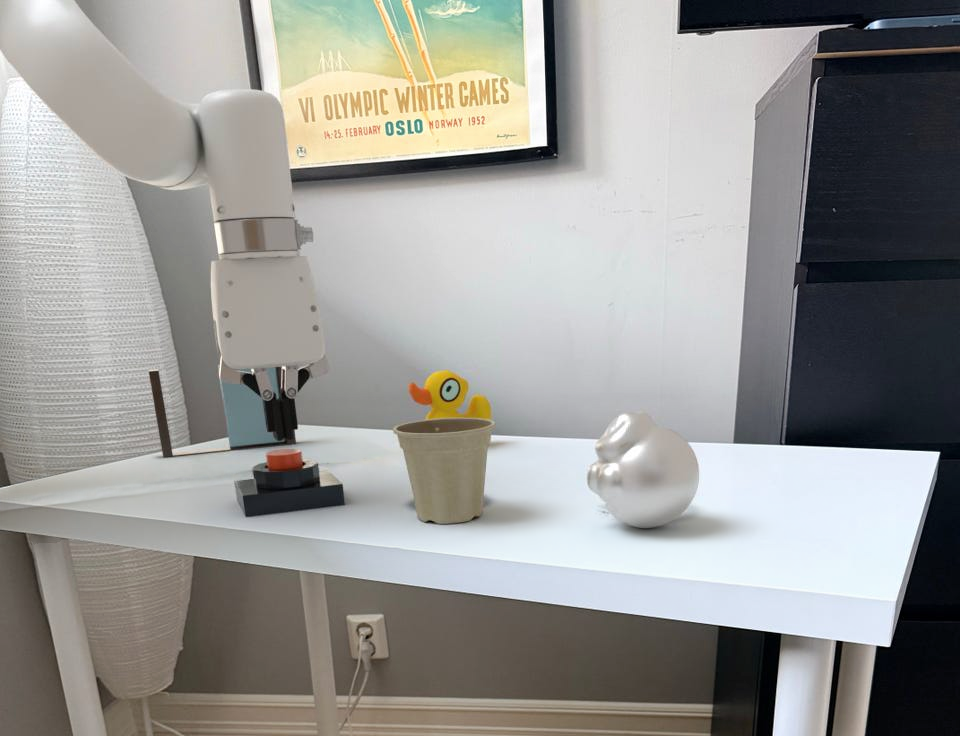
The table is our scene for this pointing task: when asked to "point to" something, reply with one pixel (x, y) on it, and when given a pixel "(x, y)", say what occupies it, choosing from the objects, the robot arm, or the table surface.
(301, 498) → the button box
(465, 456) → the flower pot
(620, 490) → the pearly white lumpy ball
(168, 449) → the window frame
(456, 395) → the duckling
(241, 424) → the window pane
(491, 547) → the table surface
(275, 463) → the button
